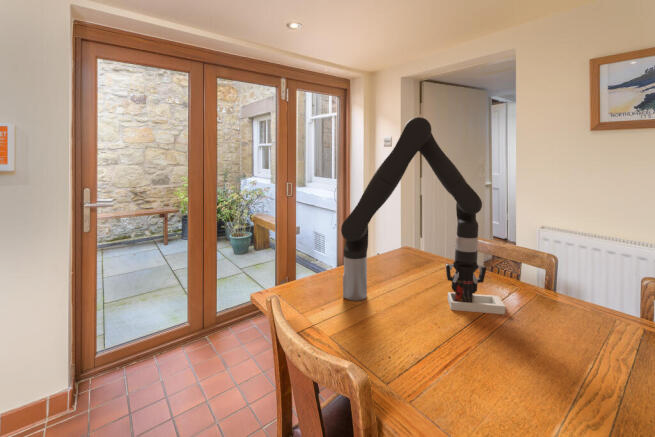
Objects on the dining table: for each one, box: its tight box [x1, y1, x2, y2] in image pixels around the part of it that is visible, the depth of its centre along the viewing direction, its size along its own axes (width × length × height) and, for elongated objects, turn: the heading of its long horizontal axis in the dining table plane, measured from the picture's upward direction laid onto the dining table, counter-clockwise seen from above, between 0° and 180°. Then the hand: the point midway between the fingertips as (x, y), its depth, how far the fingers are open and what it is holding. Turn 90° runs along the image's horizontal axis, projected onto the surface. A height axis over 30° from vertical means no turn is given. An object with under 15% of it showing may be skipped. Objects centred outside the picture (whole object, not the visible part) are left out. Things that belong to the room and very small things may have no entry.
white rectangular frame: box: [447, 291, 506, 315], centre depth 118 cm, size 18×9×3 cm, turn 77°
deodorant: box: [454, 266, 475, 303], centre depth 118 cm, size 6×6×15 cm
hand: (464, 291), depth 118 cm, fingers closed on deodorant, 6 cm apart
